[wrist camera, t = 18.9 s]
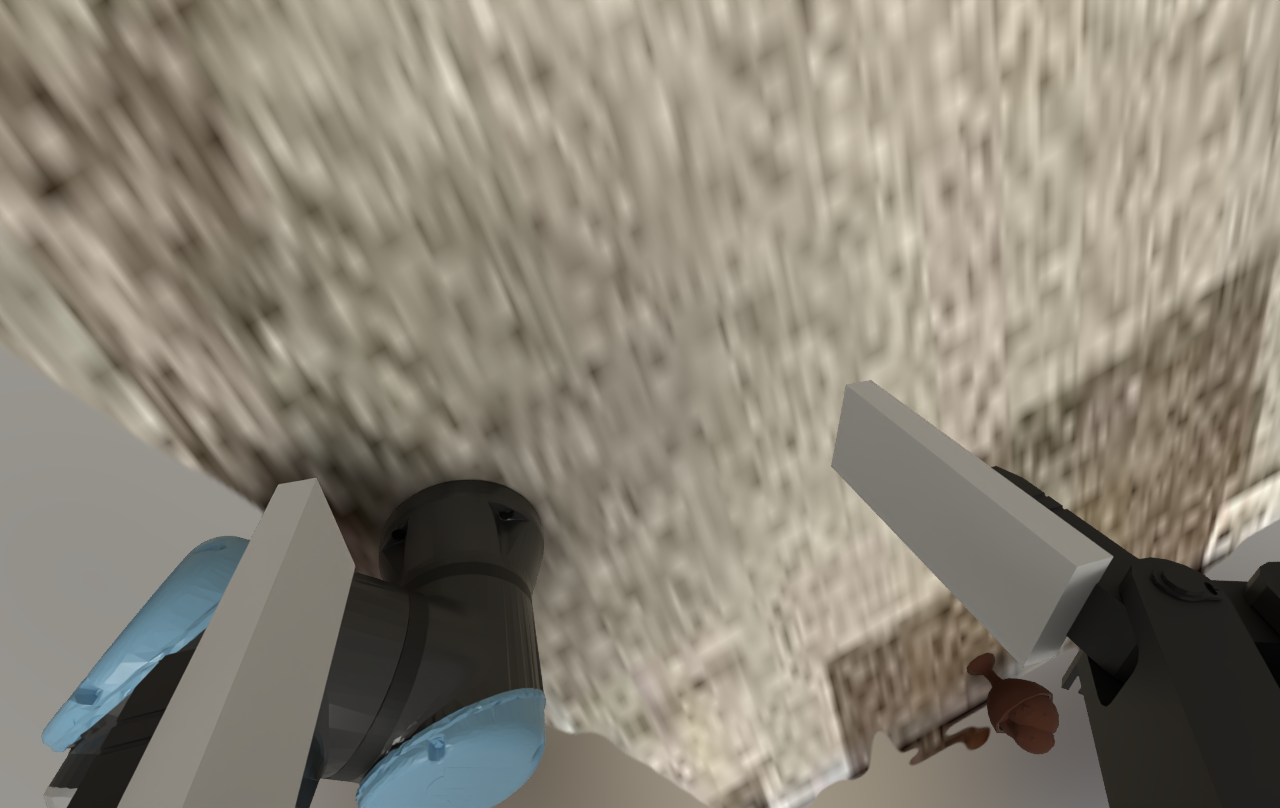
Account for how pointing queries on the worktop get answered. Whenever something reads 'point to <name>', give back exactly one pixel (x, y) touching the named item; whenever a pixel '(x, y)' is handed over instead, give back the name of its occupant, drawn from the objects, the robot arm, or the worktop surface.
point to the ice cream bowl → (1019, 708)
